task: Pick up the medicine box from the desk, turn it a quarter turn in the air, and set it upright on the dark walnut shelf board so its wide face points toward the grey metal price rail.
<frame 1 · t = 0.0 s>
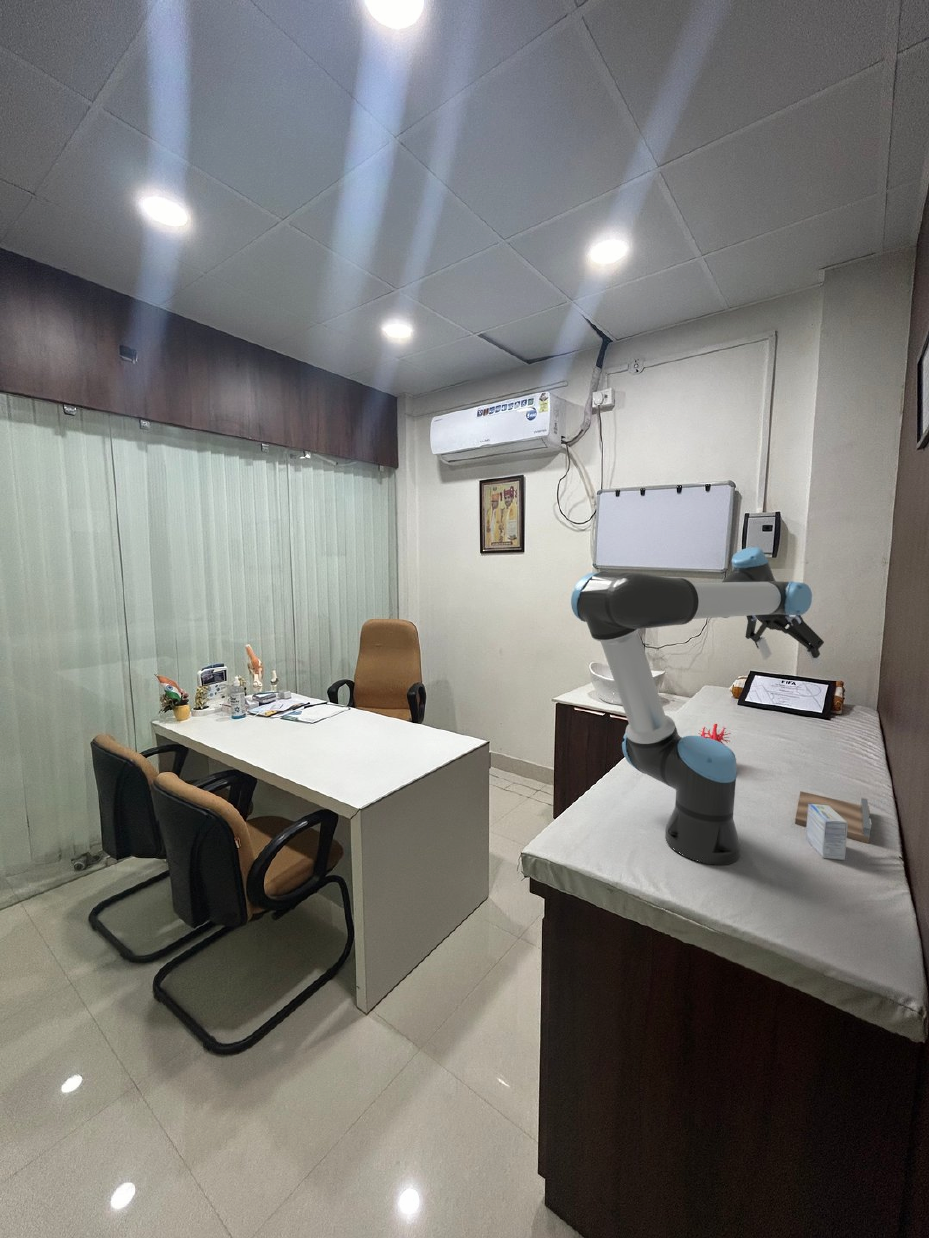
hand: (791, 660, 139), 36 cm above the worktop, tool tilted 35°, fingers open, 13 cm apart
shelf board: (831, 817, 123), on the worktop
medicine box: (824, 850, 110), on the worktop
red branching piece: (709, 765, 156), on the worktop
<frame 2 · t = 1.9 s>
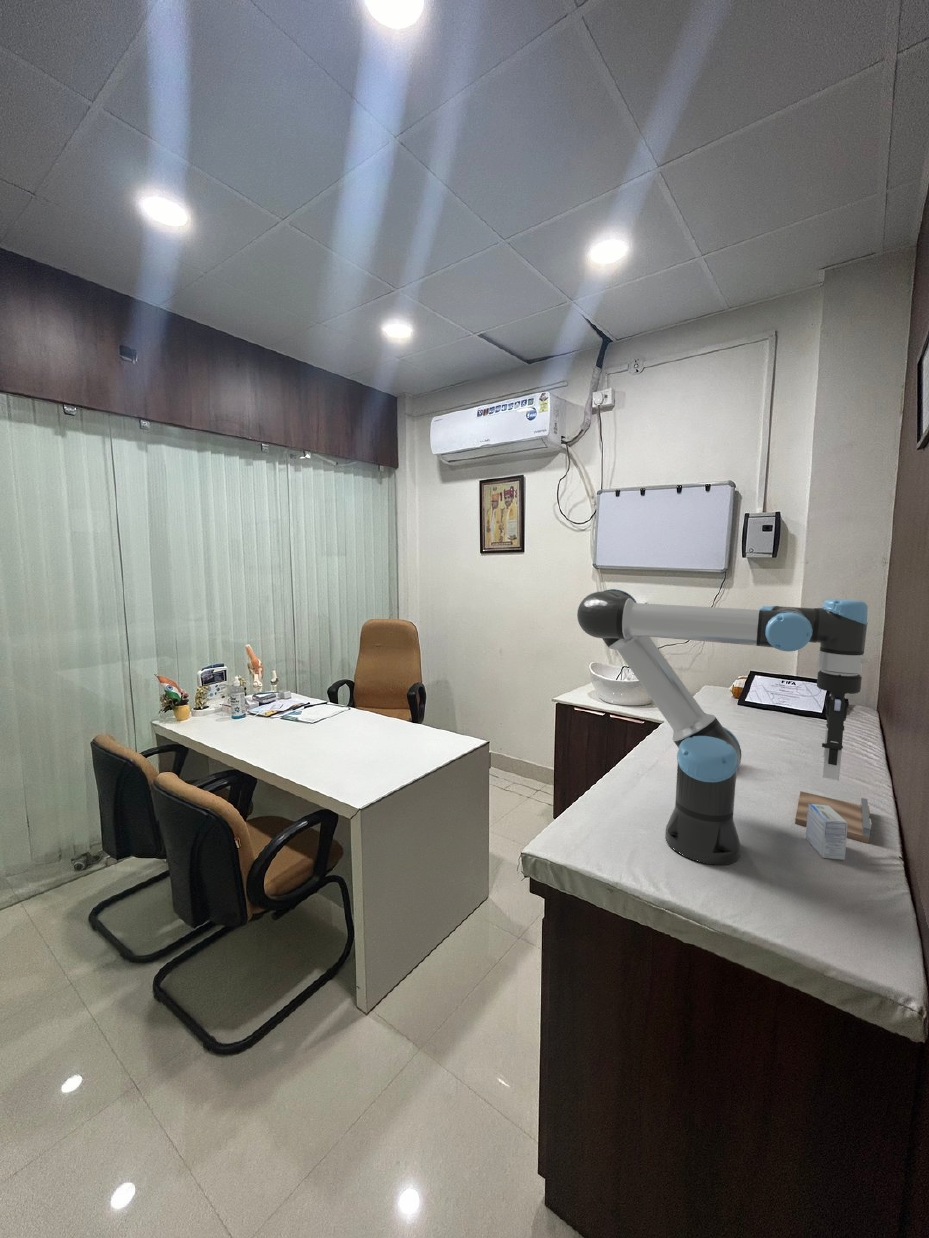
hand: (830, 767, 108), 19 cm above the worktop, tool pointing down, fingers open, 13 cm apart
nothing on the worktop moved.
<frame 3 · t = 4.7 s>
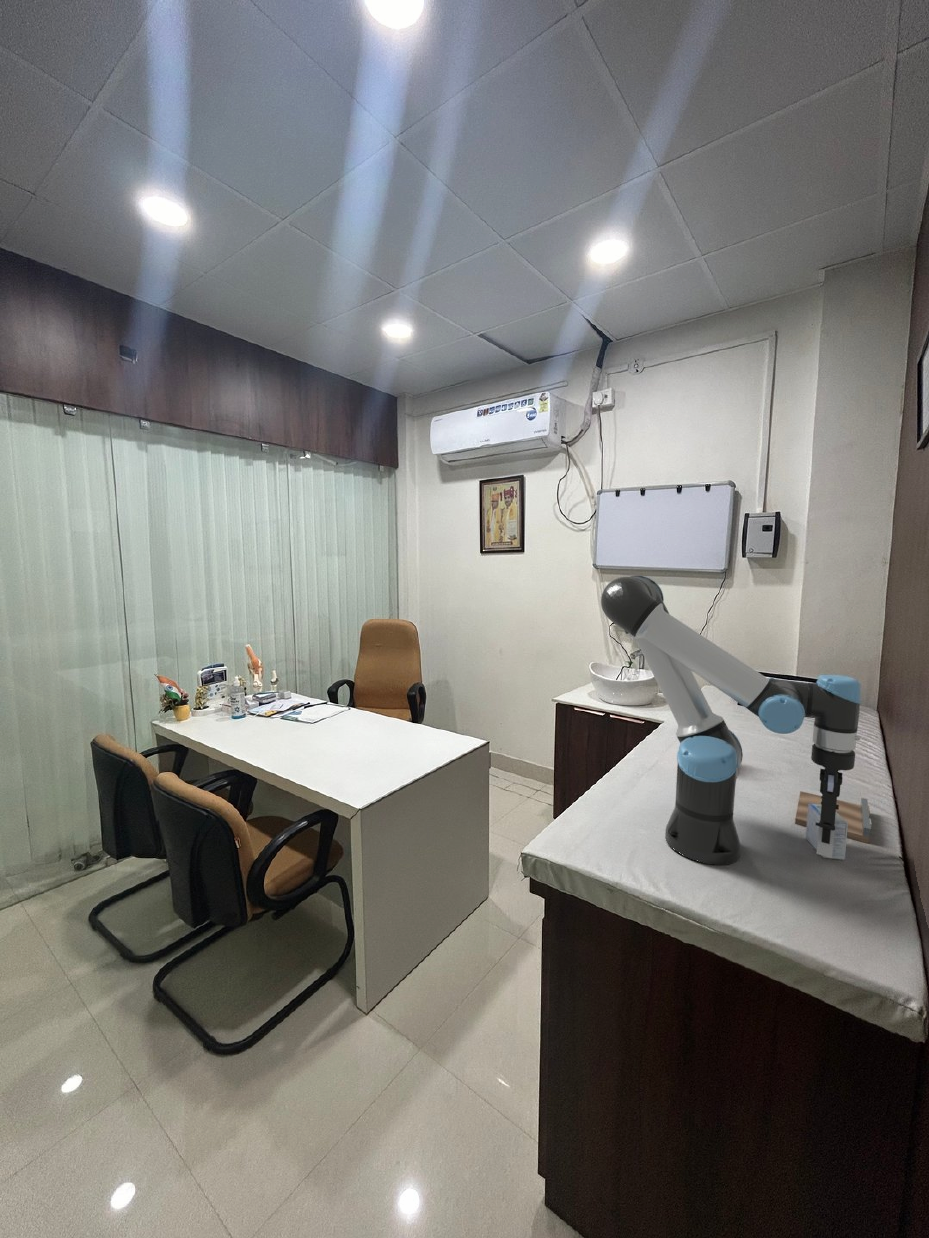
hand: (824, 845, 110), 1 cm above the worktop, tool pointing down, fingers closed on medicine box, 9 cm apart
medicine box: (824, 850, 110), on the worktop, touching gripper
everything else where it was.
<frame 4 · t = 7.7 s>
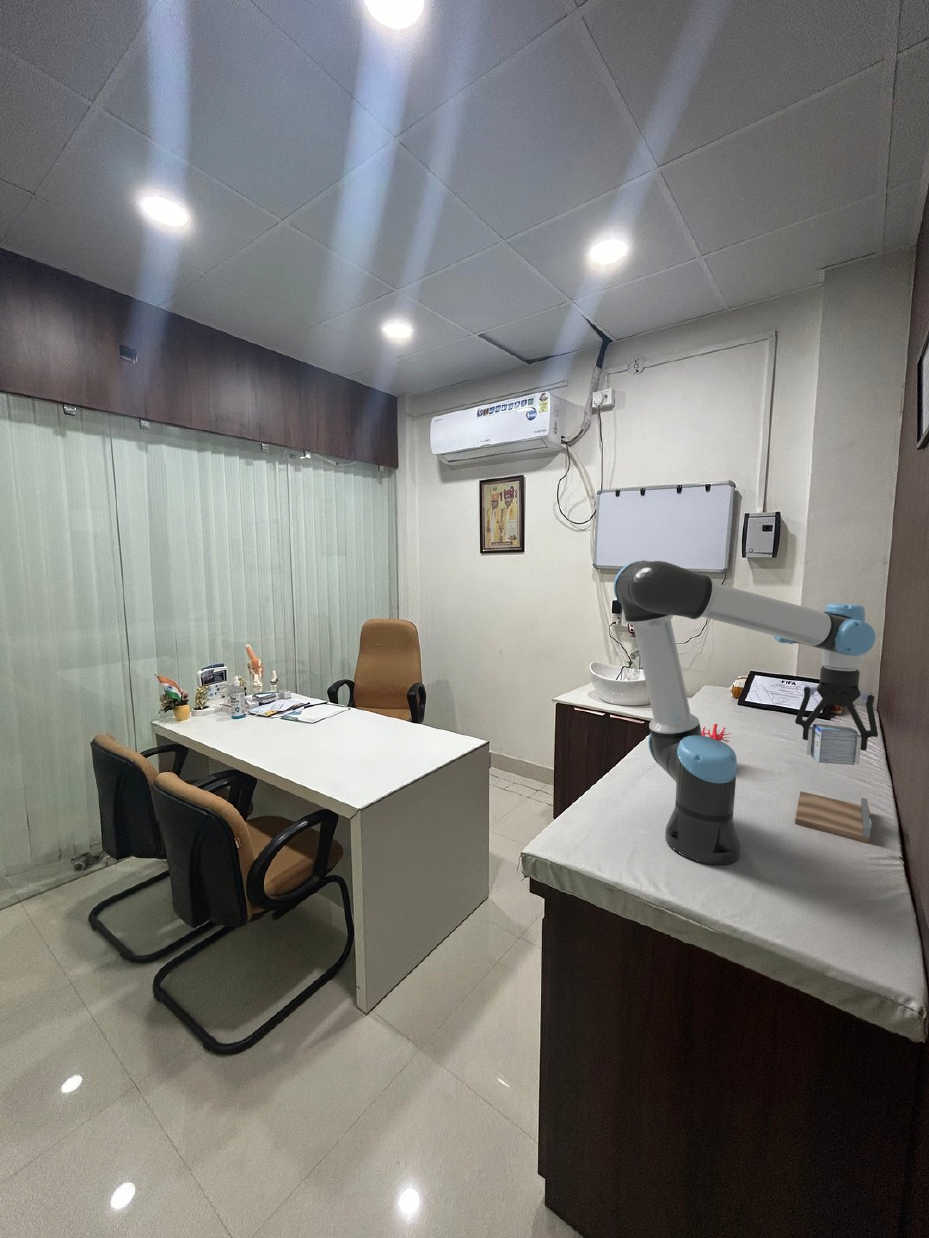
hand: (832, 757, 122), 15 cm above the worktop, tool pointing down, fingers closed on medicine box, 9 cm apart
medicine box: (831, 761, 122), point 14 cm above the worktop, touching gripper
everything else where it was.
when the fingers open (4 cm above the worktop, at t = 10.7 s): medicine box drops 1 cm, resting on shelf board.
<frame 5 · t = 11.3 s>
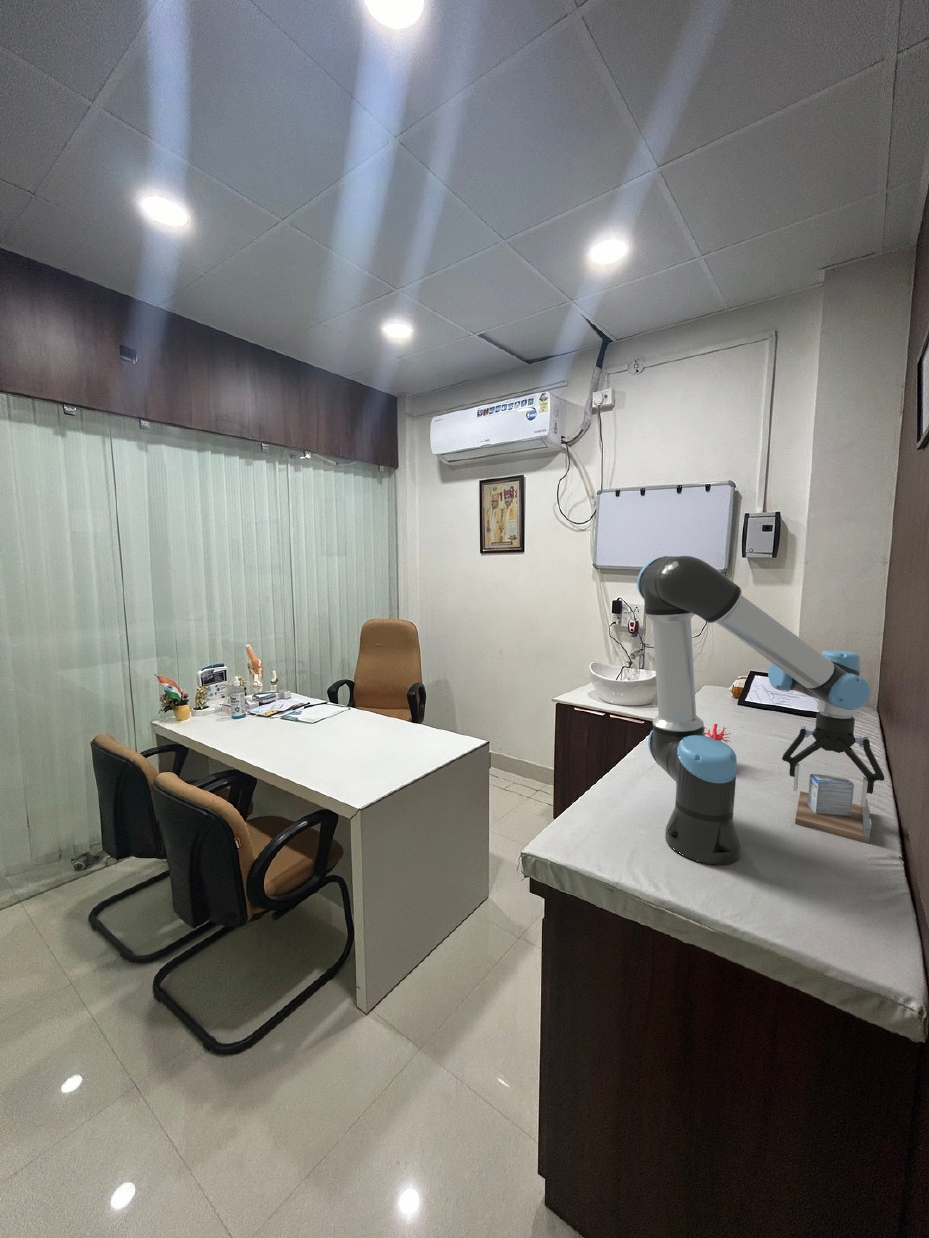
hand: (828, 796, 123), 5 cm above the worktop, tool pointing down, fingers open, 13 cm apart
medicine box: (828, 812, 124), point 1 cm above the worktop, touching shelf board
everything else where it was.
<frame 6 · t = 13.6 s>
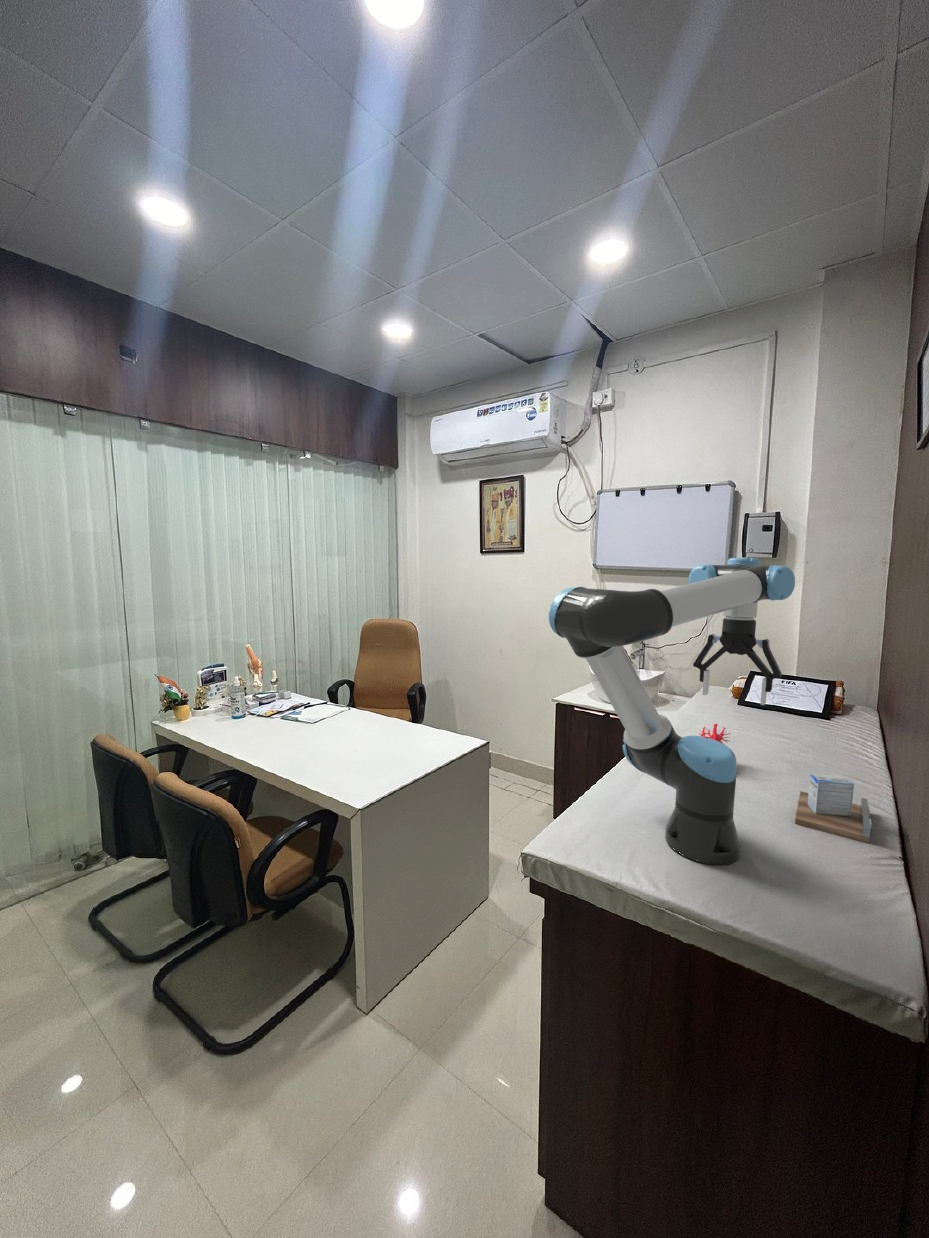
hand: (733, 699, 130), 28 cm above the worktop, tool pointing down, fingers open, 13 cm apart
nothing on the worktop moved.
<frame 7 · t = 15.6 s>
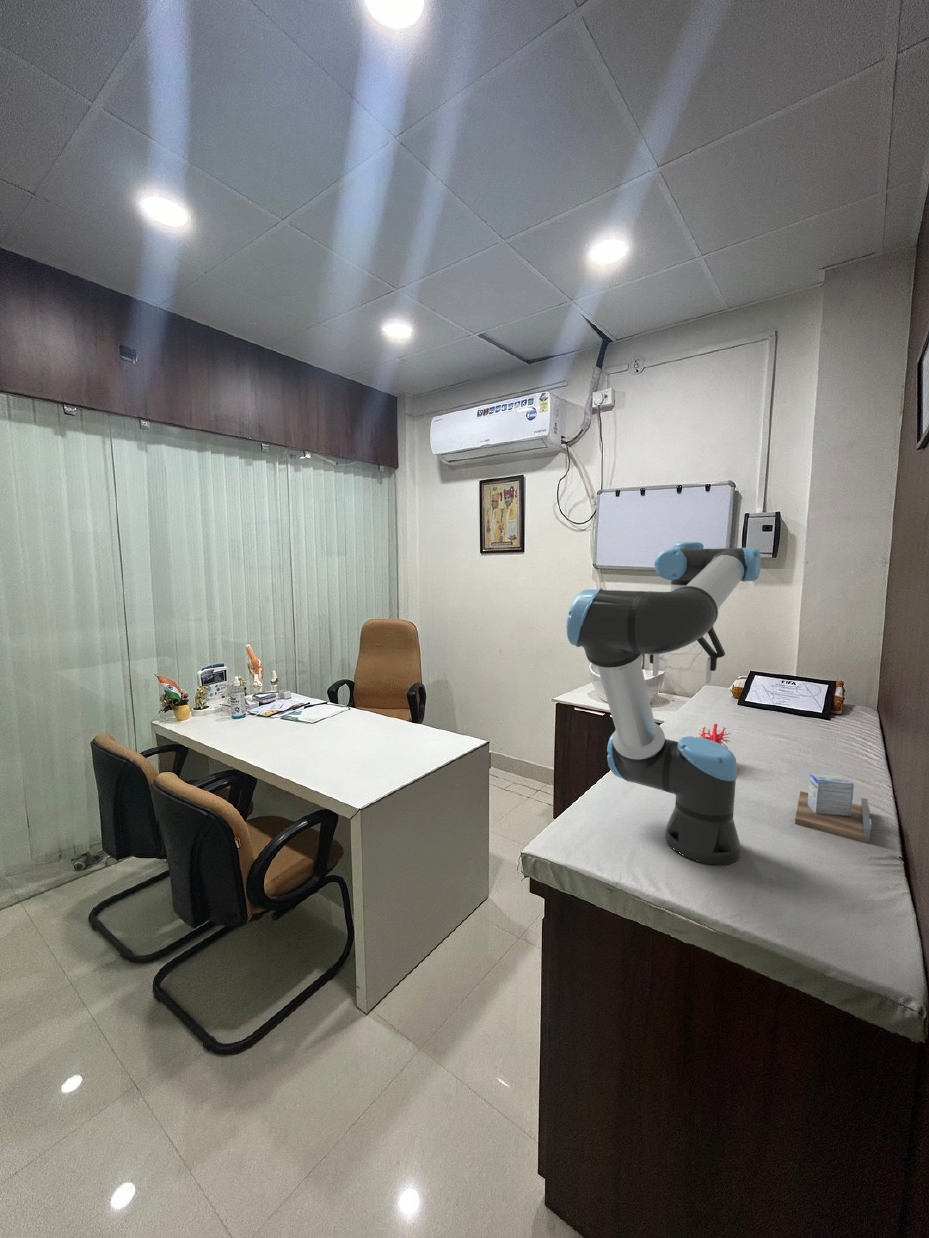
hand: (681, 678, 135), 32 cm above the worktop, tool pointing down, fingers open, 13 cm apart
nothing on the worktop moved.
at the end: medicine box inside the target area (0.4 cm from its centre), point 1.3 cm above the worktop; medicine box tilted 0°; the gripper is holding nothing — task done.
